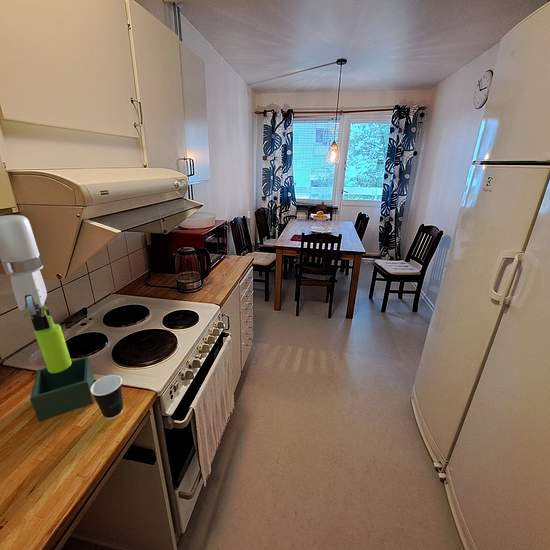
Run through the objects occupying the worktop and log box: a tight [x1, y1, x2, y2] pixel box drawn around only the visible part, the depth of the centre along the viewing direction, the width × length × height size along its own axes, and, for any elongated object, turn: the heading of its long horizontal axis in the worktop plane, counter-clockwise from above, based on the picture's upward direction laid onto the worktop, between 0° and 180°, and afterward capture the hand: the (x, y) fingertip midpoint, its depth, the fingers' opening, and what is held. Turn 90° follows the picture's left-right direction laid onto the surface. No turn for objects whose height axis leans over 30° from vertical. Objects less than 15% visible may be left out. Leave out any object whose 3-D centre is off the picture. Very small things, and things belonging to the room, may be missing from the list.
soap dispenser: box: [21, 305, 72, 373], centre depth 82 cm, size 6×7×20 cm
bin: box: [29, 356, 95, 422], centre depth 89 cm, size 14×14×9 cm
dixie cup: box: [90, 374, 124, 421], centre depth 83 cm, size 8×8×11 cm
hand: (43, 325), depth 80 cm, fingers closed on soap dispenser, 3 cm apart
